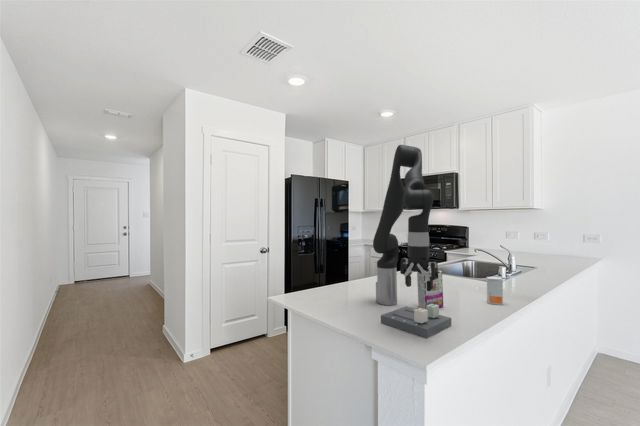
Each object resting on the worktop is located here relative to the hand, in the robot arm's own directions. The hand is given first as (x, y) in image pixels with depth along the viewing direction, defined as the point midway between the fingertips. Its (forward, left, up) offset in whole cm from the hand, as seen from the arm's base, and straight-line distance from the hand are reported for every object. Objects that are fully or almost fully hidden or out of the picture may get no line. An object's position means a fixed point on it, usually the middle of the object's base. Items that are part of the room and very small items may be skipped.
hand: (418, 288), depth 110 cm
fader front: (0, +1, -12) cm, 12 cm away
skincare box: (+5, +55, -16) cm, 57 cm away
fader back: (0, +8, -12) cm, 15 cm away
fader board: (-5, +5, -15) cm, 17 cm away
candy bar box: (-12, +28, -16) cm, 34 cm away
